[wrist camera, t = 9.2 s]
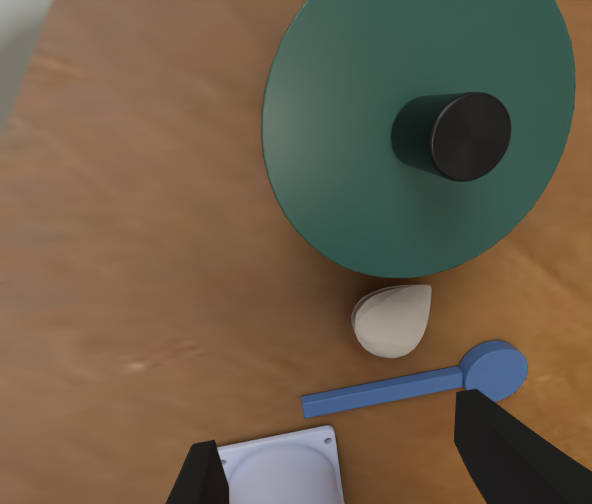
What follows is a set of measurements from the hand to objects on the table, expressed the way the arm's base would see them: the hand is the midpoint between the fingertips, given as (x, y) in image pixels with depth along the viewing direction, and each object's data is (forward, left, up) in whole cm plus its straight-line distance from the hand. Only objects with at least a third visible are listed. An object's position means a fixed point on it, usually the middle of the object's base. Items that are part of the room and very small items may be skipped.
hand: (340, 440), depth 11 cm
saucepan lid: (+8, -4, -5) cm, 10 cm away
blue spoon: (-8, -6, -10) cm, 15 cm away
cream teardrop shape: (-2, -5, -11) cm, 12 cm away
